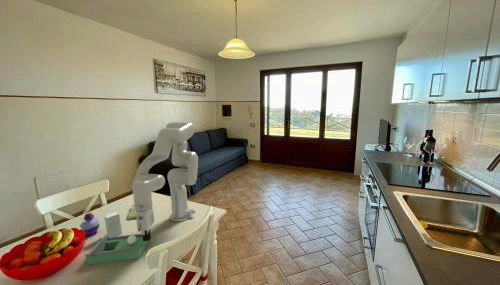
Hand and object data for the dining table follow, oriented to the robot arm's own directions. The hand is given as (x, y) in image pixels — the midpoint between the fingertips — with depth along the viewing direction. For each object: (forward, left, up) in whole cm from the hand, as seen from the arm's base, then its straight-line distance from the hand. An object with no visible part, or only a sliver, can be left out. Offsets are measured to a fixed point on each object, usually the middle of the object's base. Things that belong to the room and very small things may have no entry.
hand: (147, 239), depth 101 cm
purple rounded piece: (+35, -19, -6) cm, 40 cm away
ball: (+7, 0, +1) cm, 7 cm away
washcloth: (+16, -40, -6) cm, 44 cm away
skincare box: (+22, -16, -6) cm, 28 cm away
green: (+13, 0, -5) cm, 14 cm away
